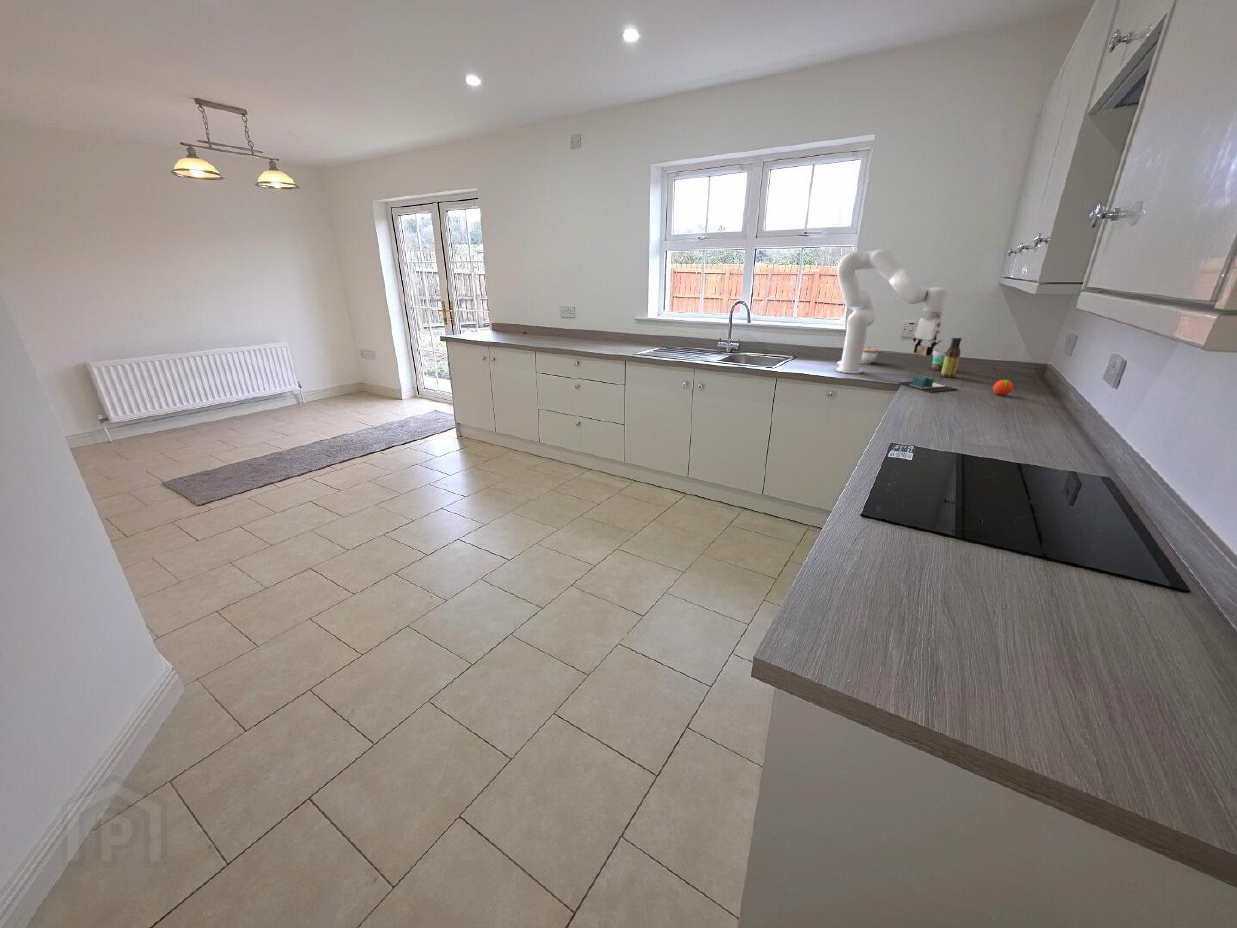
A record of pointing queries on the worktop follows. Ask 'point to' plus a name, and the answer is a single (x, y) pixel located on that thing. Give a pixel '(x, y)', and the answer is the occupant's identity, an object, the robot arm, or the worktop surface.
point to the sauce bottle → (951, 358)
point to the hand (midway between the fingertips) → (922, 353)
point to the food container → (938, 360)
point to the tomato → (1003, 387)
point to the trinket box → (869, 355)
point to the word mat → (932, 389)
